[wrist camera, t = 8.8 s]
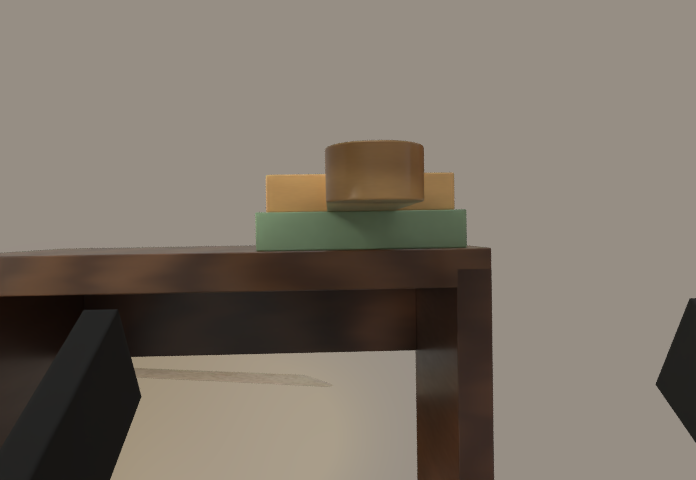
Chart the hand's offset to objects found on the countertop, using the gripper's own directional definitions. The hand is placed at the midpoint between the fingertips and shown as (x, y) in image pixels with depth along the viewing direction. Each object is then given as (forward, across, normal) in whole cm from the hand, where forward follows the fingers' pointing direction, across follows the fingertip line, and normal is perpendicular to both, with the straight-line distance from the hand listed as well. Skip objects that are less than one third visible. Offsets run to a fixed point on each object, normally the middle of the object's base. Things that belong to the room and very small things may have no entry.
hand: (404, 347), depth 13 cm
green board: (+20, 0, -9) cm, 22 cm away
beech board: (+16, 0, -5) cm, 16 cm away
